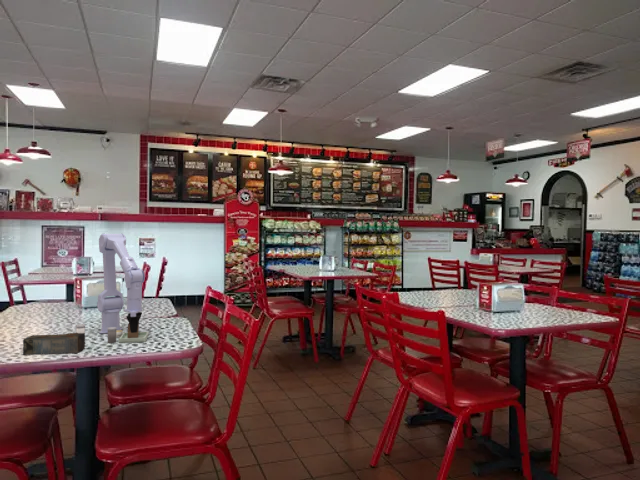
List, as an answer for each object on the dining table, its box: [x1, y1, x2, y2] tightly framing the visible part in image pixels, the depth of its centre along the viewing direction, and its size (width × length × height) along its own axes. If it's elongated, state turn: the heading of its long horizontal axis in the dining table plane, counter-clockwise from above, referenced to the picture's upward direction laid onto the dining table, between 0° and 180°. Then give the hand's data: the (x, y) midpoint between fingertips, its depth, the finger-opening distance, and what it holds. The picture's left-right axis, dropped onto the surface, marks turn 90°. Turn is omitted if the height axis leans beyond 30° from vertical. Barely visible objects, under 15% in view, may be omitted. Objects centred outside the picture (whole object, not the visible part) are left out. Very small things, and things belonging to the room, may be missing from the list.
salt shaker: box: [75, 323, 86, 334], centre depth 194 cm, size 3×3×6 cm
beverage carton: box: [22, 332, 86, 356], centre depth 174 cm, size 8×19×7 cm, turn 101°
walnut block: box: [127, 322, 140, 338], centre depth 195 cm, size 4×4×6 cm
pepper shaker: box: [107, 327, 117, 344], centre depth 189 cm, size 3×3×6 cm
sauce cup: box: [116, 329, 124, 339], centre depth 200 cm, size 4×4×3 cm
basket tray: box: [118, 331, 150, 344], centre depth 195 cm, size 12×10×2 cm
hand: (134, 331), depth 195 cm, fingers open, 5 cm apart
